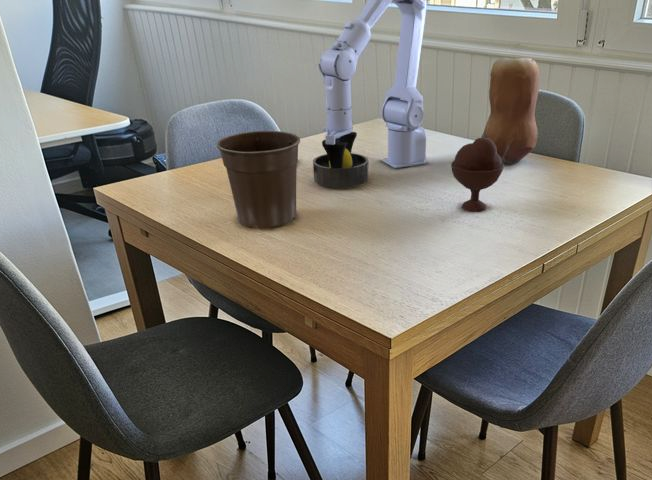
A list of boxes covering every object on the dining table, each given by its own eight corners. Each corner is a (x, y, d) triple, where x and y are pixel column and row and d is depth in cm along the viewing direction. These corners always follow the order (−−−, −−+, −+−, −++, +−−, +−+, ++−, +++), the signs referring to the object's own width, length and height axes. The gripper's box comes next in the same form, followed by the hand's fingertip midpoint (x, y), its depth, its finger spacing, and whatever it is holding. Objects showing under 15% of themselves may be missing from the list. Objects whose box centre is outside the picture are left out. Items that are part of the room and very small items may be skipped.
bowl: (354, 169, 158) (353, 149, 155) (378, 184, 148) (377, 163, 145) (305, 177, 153) (304, 157, 150) (327, 193, 143) (326, 172, 140)
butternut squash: (500, 151, 170) (511, 51, 157) (543, 160, 163) (558, 56, 149) (470, 162, 162) (478, 57, 148) (514, 172, 154) (527, 63, 141)
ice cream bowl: (502, 201, 137) (510, 131, 129) (494, 219, 129) (501, 146, 120) (455, 196, 140) (460, 128, 132) (444, 213, 131) (448, 141, 123)
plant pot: (214, 216, 131) (202, 138, 123) (280, 199, 140) (273, 125, 131) (251, 240, 121) (240, 157, 112) (320, 220, 129) (315, 141, 120)
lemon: (329, 175, 152) (327, 142, 148) (352, 175, 152) (351, 141, 148) (330, 183, 147) (328, 149, 143) (353, 182, 148) (352, 148, 143)
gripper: (332, 100, 148) (334, 157, 155) (311, 114, 136) (314, 175, 143) (360, 101, 146) (361, 159, 154) (341, 115, 134) (343, 177, 142)
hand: (340, 167), depth 148 cm, fingers closed on lemon, 5 cm apart
